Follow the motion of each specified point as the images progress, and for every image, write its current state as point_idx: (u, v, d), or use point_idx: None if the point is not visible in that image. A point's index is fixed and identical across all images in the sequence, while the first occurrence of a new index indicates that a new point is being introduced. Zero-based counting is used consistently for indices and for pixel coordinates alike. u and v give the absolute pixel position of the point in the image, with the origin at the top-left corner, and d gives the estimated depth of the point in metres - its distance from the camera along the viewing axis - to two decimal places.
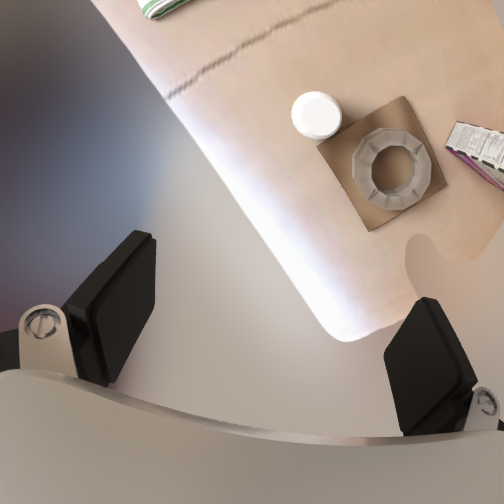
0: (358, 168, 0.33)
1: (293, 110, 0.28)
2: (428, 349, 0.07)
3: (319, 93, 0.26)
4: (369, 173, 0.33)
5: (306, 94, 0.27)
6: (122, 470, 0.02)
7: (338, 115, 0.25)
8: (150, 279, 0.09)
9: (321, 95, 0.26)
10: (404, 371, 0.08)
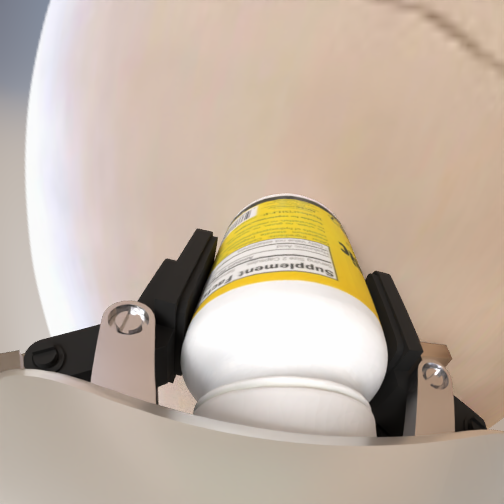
0: None
1: (223, 319, 0.06)
2: None
3: (375, 351, 0.06)
4: None
5: (336, 317, 0.06)
6: (122, 470, 0.02)
7: None
8: None
9: (372, 363, 0.06)
10: None
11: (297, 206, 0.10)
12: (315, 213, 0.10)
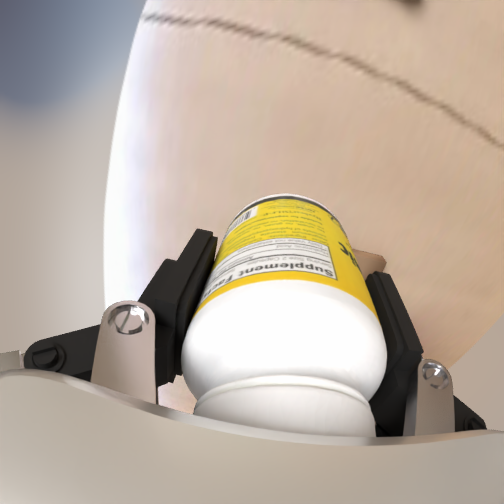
0: None
1: (223, 319, 0.06)
2: None
3: (374, 350, 0.06)
4: None
5: (335, 316, 0.06)
6: (122, 470, 0.02)
7: None
8: None
9: (371, 362, 0.06)
10: None
11: (297, 206, 0.10)
12: (314, 213, 0.10)
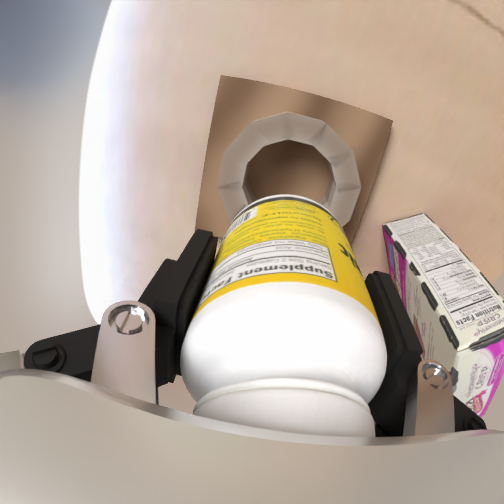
0: (241, 135, 0.19)
1: (222, 321, 0.06)
2: None
3: (374, 352, 0.06)
4: (250, 155, 0.20)
5: (335, 319, 0.06)
6: (122, 470, 0.02)
7: None
8: None
9: (371, 365, 0.06)
10: None
11: (297, 207, 0.10)
12: (314, 214, 0.10)
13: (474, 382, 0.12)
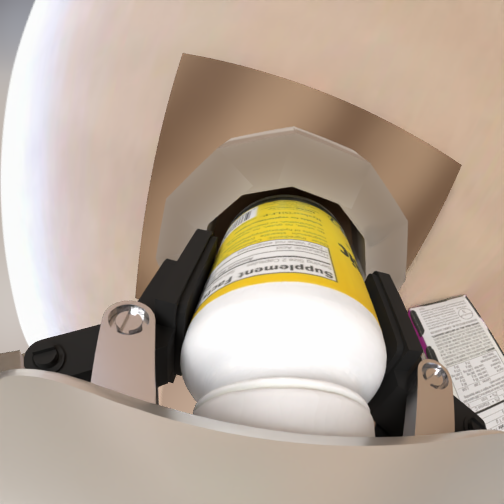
0: (200, 170, 0.10)
1: (222, 320, 0.06)
2: None
3: (374, 352, 0.06)
4: (215, 209, 0.11)
5: (335, 319, 0.06)
6: (122, 470, 0.02)
7: None
8: None
9: (370, 365, 0.06)
10: None
11: (297, 207, 0.10)
12: (314, 214, 0.10)
13: None
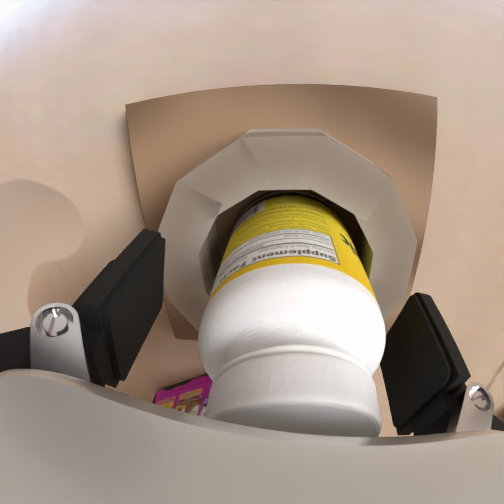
0: (369, 168, 0.09)
1: (240, 298, 0.07)
2: (420, 344, 0.08)
3: (374, 326, 0.07)
4: (331, 193, 0.10)
5: (339, 295, 0.06)
6: (122, 470, 0.02)
7: None
8: (159, 278, 0.09)
9: (371, 338, 0.07)
10: (397, 366, 0.09)
11: (301, 201, 0.11)
12: (317, 208, 0.11)
13: None
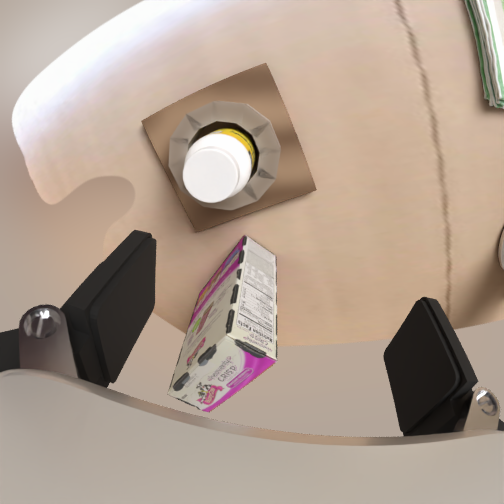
0: (233, 104, 0.23)
1: (190, 149, 0.22)
2: (428, 349, 0.07)
3: (232, 142, 0.21)
4: (224, 119, 0.24)
5: (215, 136, 0.21)
6: (122, 470, 0.02)
7: (233, 185, 0.20)
8: (150, 279, 0.09)
9: (232, 146, 0.21)
10: (404, 371, 0.08)
11: (219, 129, 0.26)
12: (225, 128, 0.25)
13: (220, 372, 0.22)
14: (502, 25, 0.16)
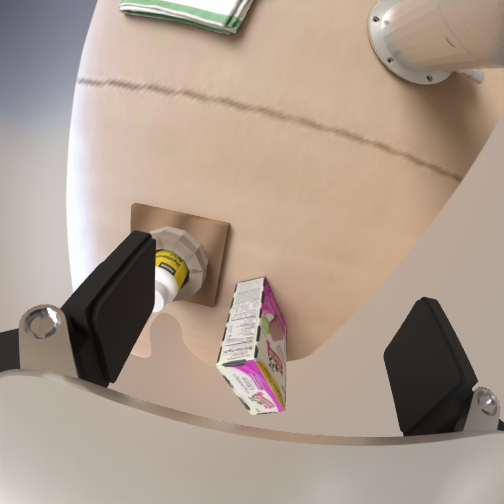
0: None
1: None
2: (428, 349, 0.07)
3: None
4: None
5: None
6: (122, 470, 0.02)
7: (158, 294, 0.33)
8: (150, 279, 0.09)
9: None
10: (404, 371, 0.08)
11: None
12: None
13: (244, 384, 0.31)
14: None
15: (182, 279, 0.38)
